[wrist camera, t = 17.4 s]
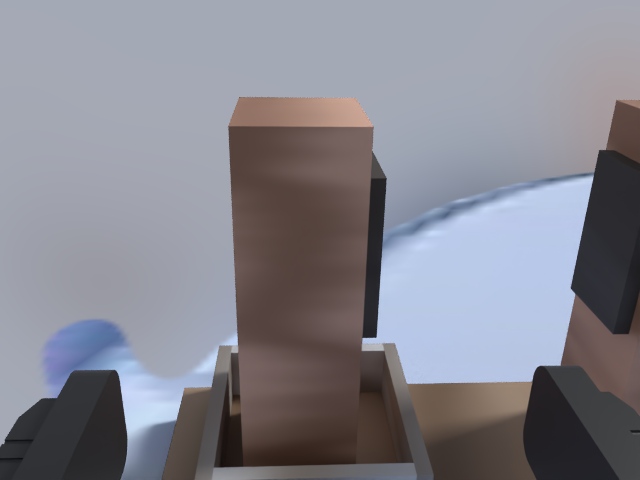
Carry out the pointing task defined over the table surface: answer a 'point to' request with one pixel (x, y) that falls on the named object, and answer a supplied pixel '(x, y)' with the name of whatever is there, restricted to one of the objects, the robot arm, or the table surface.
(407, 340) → the table surface
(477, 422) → the gravestone
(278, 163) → the tall copper pillar
